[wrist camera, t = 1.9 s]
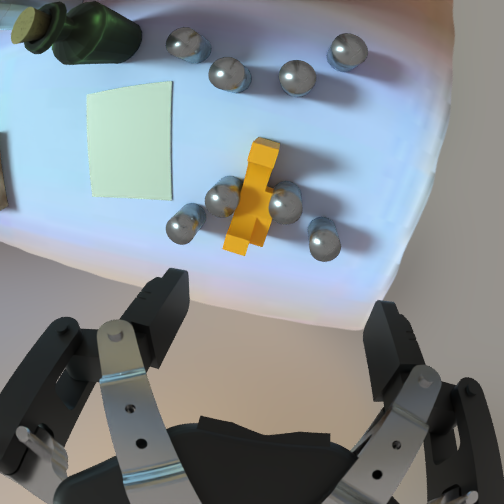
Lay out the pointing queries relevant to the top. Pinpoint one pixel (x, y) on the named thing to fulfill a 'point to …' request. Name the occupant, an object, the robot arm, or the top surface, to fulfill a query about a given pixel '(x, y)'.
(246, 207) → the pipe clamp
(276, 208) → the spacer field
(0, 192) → the frame
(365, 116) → the top surface
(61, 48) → the potion bottle
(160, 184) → the pad
